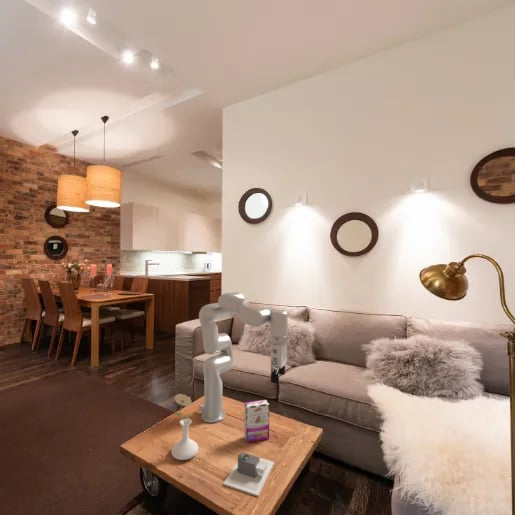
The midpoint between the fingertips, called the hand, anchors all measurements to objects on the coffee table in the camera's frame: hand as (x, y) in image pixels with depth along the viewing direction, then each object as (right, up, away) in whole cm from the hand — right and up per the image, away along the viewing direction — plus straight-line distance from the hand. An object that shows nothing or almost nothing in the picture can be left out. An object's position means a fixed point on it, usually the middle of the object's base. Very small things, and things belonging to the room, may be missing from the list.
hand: (278, 378), depth 126 cm
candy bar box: (-9, -33, +10) cm, 35 cm away
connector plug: (-12, -31, -13) cm, 36 cm away
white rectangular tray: (-12, -32, -13) cm, 37 cm away
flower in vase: (-41, -32, -1) cm, 52 cm away
